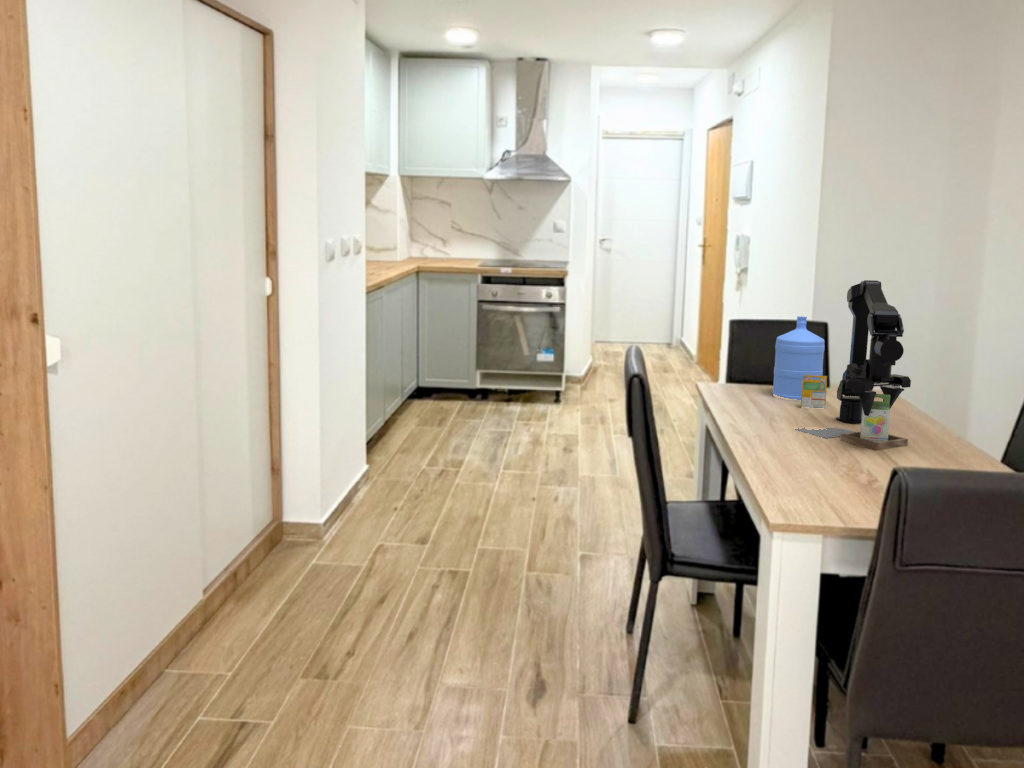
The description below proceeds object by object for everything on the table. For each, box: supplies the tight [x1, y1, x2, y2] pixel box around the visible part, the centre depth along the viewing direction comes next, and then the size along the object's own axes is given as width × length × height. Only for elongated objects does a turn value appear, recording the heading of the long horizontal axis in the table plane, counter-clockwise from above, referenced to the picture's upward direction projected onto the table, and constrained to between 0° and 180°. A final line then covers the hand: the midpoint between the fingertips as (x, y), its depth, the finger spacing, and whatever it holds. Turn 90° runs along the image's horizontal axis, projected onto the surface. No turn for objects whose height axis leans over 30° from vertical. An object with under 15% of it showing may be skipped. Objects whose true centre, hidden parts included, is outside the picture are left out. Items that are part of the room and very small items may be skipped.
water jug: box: [771, 316, 826, 400], centre depth 317 cm, size 16×16×28 cm
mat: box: [794, 427, 856, 440], centre depth 269 cm, size 14×14×1 cm
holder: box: [839, 431, 909, 451], centre depth 256 cm, size 12×12×2 cm
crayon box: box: [800, 375, 828, 410], centre depth 300 cm, size 7×3×12 cm, turn 76°
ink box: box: [860, 393, 891, 442], centre depth 255 cm, size 7×4×13 cm, turn 70°
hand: (875, 414), depth 255 cm, fingers closed on ink box, 7 cm apart
